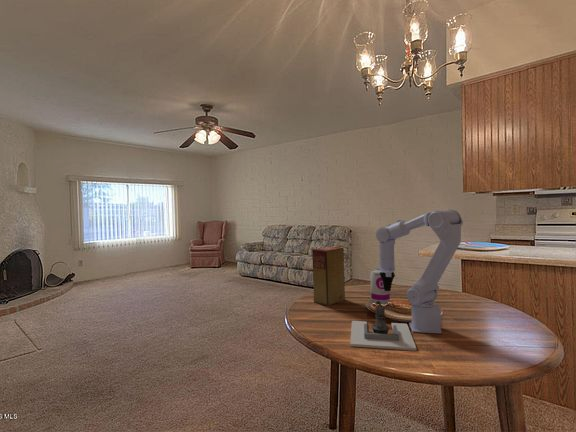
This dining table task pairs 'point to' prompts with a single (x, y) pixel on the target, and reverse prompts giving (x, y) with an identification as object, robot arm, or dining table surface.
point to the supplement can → (378, 289)
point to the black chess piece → (380, 321)
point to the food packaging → (328, 275)
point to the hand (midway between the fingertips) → (387, 290)
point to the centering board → (382, 337)
